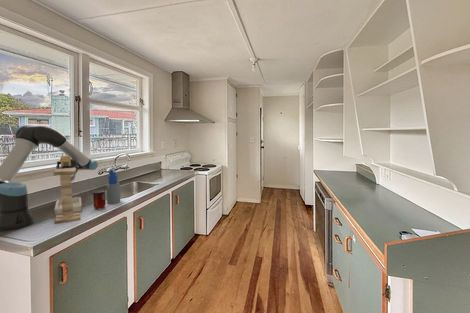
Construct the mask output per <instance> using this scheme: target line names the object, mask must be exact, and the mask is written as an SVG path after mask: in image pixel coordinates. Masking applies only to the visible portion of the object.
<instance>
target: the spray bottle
mask: <svg viewBox="0 0 470 313" xmlns="http://www.w3.org/2000/svg"><path fill="white" fill-rule="evenodd" d="M107 177H108V178H107V180H108V183H106V185H105V186H106V187H105V192H106V203H107V205H115V204H116V205H117V204H120V203H121V184H120V182H118V175H117V172H116V169H114V168H113V169H109V174H108V176H107Z"/></svg>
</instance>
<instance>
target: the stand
mask: <svg viewBox="0 0 470 313" xmlns="http://www.w3.org/2000/svg"><path fill="white" fill-rule="evenodd" d="M71 174H76V175H77V173H76V168H61V169H56V168H55V169H54V171H53V176H55V177H57V176H59V181H60V183H59V184H60V197H61V199H62V215H56V216H55V219H54V224H55V225H58V224H63V223H64V222H65V223H69V222H74V221H75V222H77V221H80V220H81V219H82V218H81V212H75V213H73V201H72V198H73V188H72V181H71Z"/></svg>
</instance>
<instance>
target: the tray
mask: <svg viewBox="0 0 470 313" xmlns="http://www.w3.org/2000/svg"><path fill="white" fill-rule="evenodd" d="M72 201H73V213H75V212H80V213H82V212H83V209H82V208H83V207H82V197H81V196H77V197H72ZM53 210H54V216H55V217H56V215H62V199H56V202H55V206H54V209H53Z"/></svg>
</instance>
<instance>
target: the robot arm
mask: <svg viewBox="0 0 470 313" xmlns="http://www.w3.org/2000/svg"><path fill="white" fill-rule="evenodd" d="M14 137H15V138H14V142H15V144H14V145H13V146H12V148H11V150H10V151H9V152H8V154H7V156H5V159H4V160H3V161H2V162H1V164H0V231H11V230H17V229H21V228H25V227H28V226H30V225H31V224H33V223H34V217H33V215H32V213H31V211H30V208H29V202H28V201H29V199H28V198H29V197H28V189H27V188H28V187H27V185H26V184H25V183H23V182H13V181H14V179H15V178H16V176H17V175H18V173H19V171H20V170H21V169H22V167H23V165H24V164H25V162H26V160H27V159H28V157H29V156H30V154H31V153H32V151H33V150H35V149H38V147H39V146H40V144H47V145H50V146H51V147H53V148H57V149H58V150H59V151H61V152H62V153H64V154H65V156H70V157H71V166H61V159H60V160H58V161H56V166H55V169H61V168H76V174H71V182H73V181H74V180H75V178H76V175H77V173H78V171H79V170H80V171H81V170H84V171H93V170H94V171H95V170H97V168H98V167H99V166H98V165H99V163H98V161H97V160H95V159H93V160H92V159H90V158H89V157H88V156H87V155H85V154H84V153H83V152H82V151H81V150H80V149H78V148H77V147H76V146H75V145H73V144H72V143H71V142H70V141H68V138H67V136H65V135H64V134H63V133H62V132H60V131H59V130H57V129H55V128H53V127H52V126H49V125H42V124H41V125H38V124H37V125H33V124H32V125H31V124H25V125H21V126H19V127H18V128H16V129H15V132H14Z"/></svg>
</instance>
